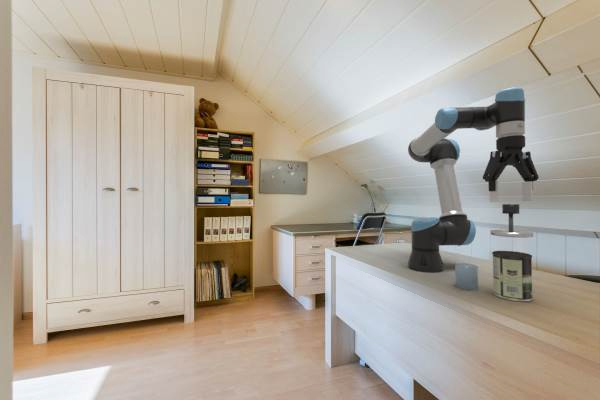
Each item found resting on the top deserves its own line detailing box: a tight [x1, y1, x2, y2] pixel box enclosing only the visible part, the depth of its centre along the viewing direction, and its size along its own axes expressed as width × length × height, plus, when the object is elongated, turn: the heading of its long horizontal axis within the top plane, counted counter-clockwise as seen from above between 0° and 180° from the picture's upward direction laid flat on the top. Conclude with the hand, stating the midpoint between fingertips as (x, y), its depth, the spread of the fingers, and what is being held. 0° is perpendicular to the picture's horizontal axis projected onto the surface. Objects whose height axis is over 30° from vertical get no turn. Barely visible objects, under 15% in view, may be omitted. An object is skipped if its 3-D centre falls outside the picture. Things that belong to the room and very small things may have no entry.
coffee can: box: [491, 250, 533, 303], centre depth 88 cm, size 10×10×14 cm
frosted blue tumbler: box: [454, 262, 479, 292], centre depth 97 cm, size 7×7×8 cm
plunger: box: [490, 203, 534, 239], centre depth 88 cm, size 11×11×10 cm
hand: (511, 201), depth 88 cm, fingers open, 13 cm apart
